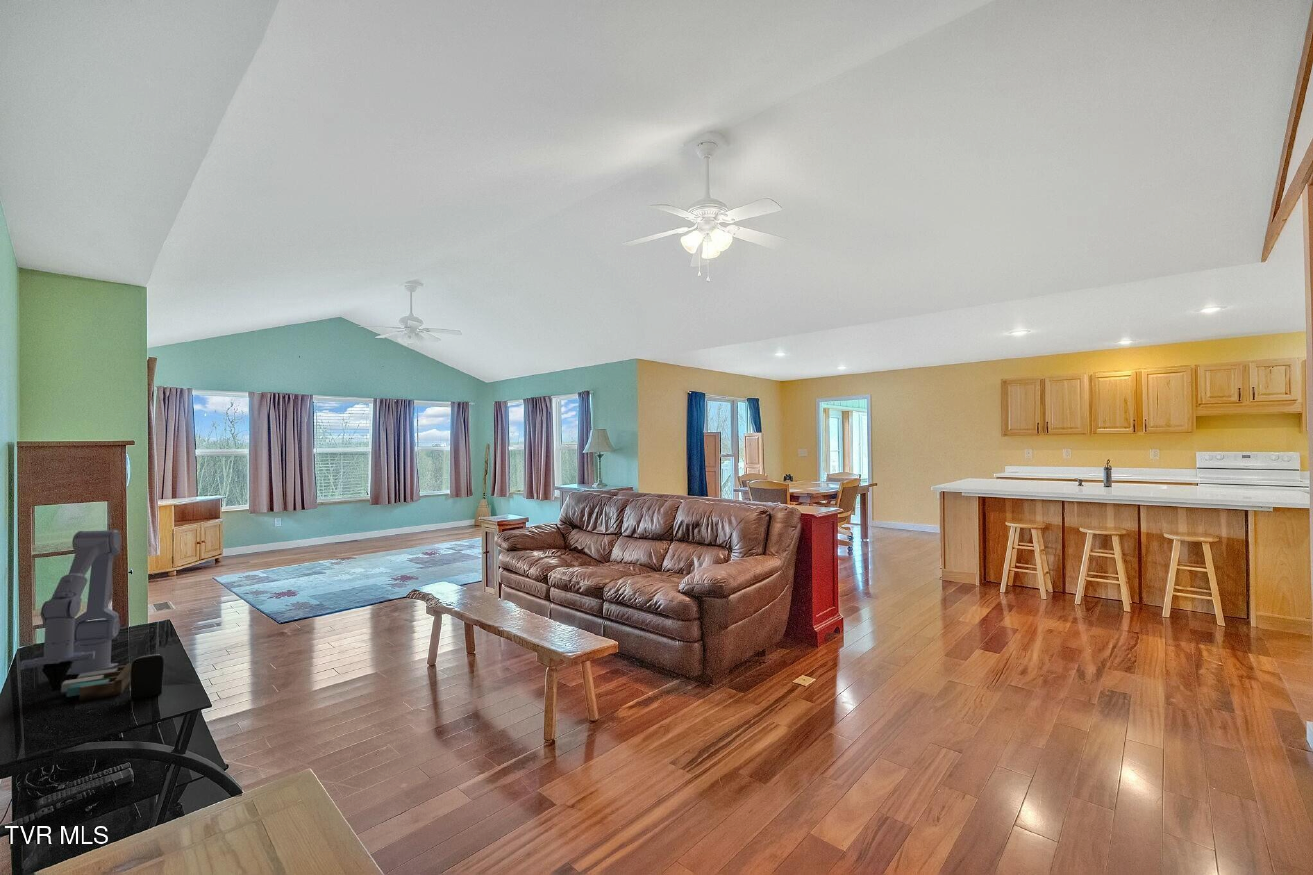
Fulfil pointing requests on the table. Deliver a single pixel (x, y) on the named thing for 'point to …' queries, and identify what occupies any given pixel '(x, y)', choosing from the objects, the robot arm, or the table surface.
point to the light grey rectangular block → (84, 675)
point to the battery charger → (146, 676)
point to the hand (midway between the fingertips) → (56, 689)
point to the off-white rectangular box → (78, 682)
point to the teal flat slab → (75, 689)
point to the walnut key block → (107, 689)
